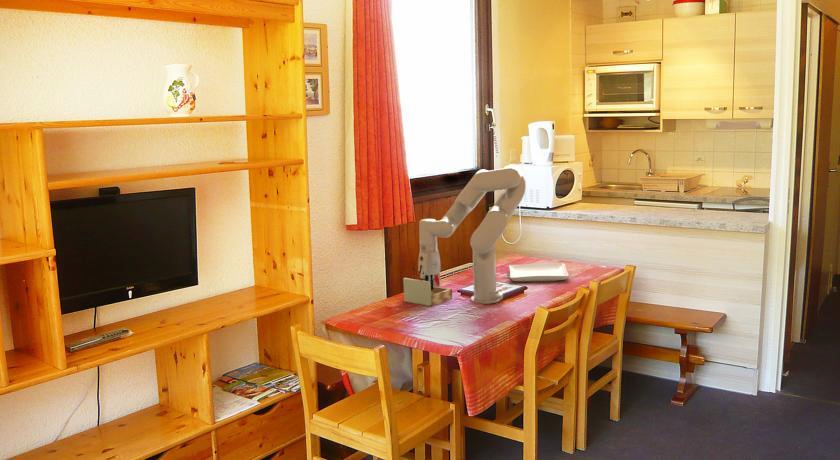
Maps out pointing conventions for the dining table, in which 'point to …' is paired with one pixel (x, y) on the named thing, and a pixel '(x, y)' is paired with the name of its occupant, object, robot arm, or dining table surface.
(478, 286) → the robot arm
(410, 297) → the panel
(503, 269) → the dining table surface
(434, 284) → the soda can
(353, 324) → the dining table surface
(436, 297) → the crate
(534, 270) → the square plate
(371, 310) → the dining table surface
